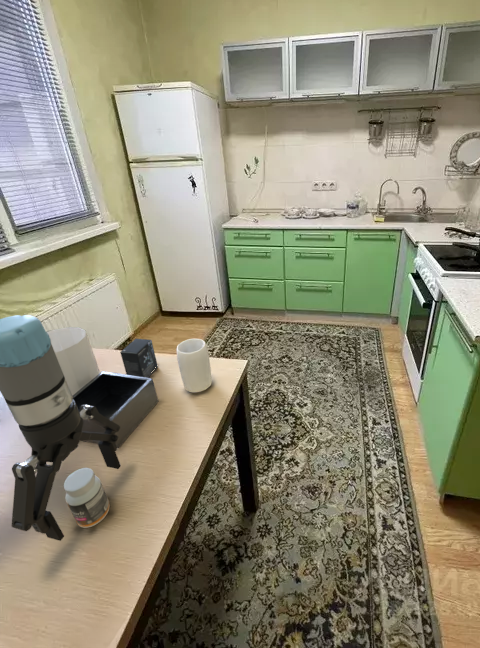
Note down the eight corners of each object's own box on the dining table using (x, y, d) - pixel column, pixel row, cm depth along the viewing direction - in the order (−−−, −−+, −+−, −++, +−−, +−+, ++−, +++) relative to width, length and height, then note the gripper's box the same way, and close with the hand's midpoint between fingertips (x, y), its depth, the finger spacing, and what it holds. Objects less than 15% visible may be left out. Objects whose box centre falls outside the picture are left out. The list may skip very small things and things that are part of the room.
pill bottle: (70, 523, 60) (51, 488, 56) (96, 495, 65) (81, 461, 61) (92, 534, 59) (75, 498, 54) (117, 504, 63) (103, 470, 59)
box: (144, 382, 97) (136, 353, 92) (128, 381, 98) (119, 351, 93) (158, 367, 104) (151, 339, 99) (143, 365, 105) (135, 337, 100)
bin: (63, 437, 79) (51, 412, 76) (110, 393, 93) (102, 371, 90) (118, 448, 76) (109, 423, 72) (158, 401, 89) (152, 378, 86)
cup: (217, 378, 98) (211, 338, 92) (206, 397, 90) (199, 355, 84) (191, 376, 99) (183, 336, 93) (178, 395, 92) (169, 353, 86)
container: (113, 388, 95) (95, 335, 88) (60, 419, 85) (35, 362, 77) (88, 372, 103) (70, 322, 95) (37, 398, 92) (12, 345, 84)
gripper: (-21, 488, 39) (43, 582, 48) (121, 366, 61) (147, 446, 70) (-66, 476, 41) (4, 569, 50) (88, 361, 63) (117, 441, 72)
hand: (87, 498), depth 60 cm, fingers open, 13 cm apart
